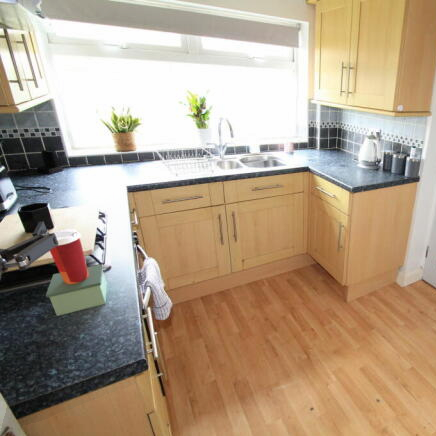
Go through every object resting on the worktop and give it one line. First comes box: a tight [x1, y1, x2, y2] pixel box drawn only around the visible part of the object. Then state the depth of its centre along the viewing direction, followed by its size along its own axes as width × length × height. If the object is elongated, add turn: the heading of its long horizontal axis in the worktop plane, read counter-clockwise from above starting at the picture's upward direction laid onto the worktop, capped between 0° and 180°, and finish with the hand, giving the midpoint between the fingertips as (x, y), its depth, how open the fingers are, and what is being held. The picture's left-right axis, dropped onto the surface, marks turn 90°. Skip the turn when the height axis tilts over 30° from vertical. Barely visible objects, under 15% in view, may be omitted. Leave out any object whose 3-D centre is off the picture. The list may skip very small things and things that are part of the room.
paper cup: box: [49, 228, 89, 284], centre depth 88 cm, size 8×8×14 cm
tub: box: [45, 263, 108, 317], centre depth 92 cm, size 12×11×8 cm
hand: (1, 233), depth 65 cm, fingers open, 13 cm apart
